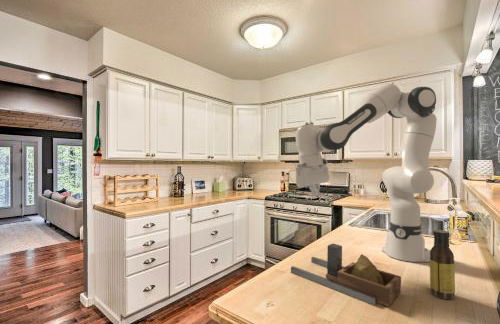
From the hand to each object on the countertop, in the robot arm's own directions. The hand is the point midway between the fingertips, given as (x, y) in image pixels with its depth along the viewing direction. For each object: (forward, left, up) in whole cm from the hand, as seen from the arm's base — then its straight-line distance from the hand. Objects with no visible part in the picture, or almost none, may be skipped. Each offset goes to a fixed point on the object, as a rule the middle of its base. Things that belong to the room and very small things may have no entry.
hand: (316, 195), depth 108 cm
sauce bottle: (-4, +42, -27) cm, 50 cm away
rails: (+10, +15, -27) cm, 33 cm away
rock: (+9, +25, -27) cm, 38 cm away
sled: (+10, +23, -27) cm, 36 cm away
